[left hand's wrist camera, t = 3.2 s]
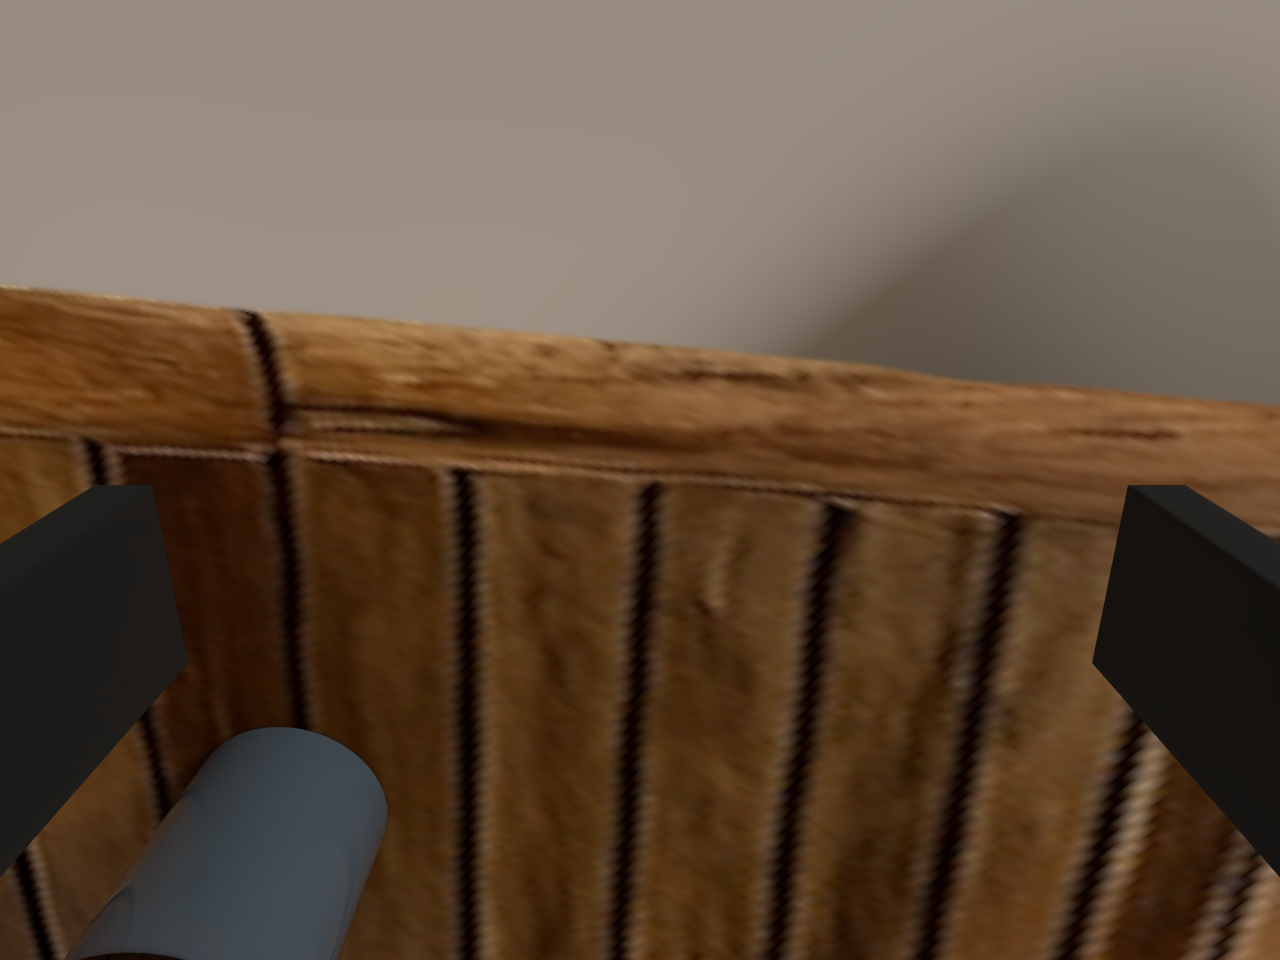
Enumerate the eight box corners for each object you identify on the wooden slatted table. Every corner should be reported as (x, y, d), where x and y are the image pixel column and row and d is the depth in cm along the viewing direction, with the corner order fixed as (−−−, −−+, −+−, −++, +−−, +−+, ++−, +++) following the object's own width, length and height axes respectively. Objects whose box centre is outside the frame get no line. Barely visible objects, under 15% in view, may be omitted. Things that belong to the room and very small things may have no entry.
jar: (398, 879, 50) (294, 1196, 35) (214, 882, 50) (31, 1199, 35) (375, 724, 46) (248, 1002, 31) (178, 727, 46) (-44, 1006, 31)
